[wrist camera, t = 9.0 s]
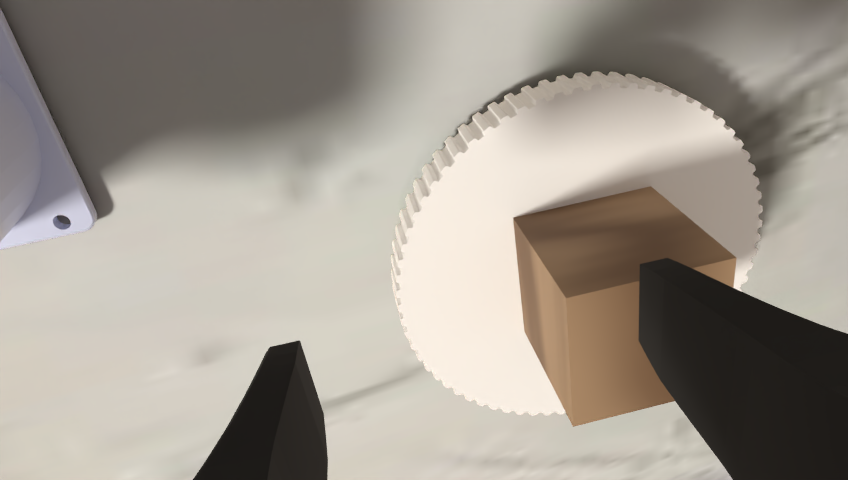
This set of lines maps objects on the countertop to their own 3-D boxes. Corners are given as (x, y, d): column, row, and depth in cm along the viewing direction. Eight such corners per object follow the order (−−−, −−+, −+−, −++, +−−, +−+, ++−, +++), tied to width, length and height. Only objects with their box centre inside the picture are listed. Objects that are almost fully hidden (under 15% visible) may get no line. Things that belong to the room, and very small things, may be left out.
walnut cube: (524, 331, 24) (573, 426, 20) (512, 217, 22) (566, 298, 17) (648, 301, 25) (722, 388, 20) (650, 186, 22) (736, 257, 18)
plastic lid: (583, 411, 30) (605, 451, 28) (322, 308, 25) (325, 348, 23) (789, 172, 26) (834, 198, 24) (525, -15, 21) (552, -5, 18)
